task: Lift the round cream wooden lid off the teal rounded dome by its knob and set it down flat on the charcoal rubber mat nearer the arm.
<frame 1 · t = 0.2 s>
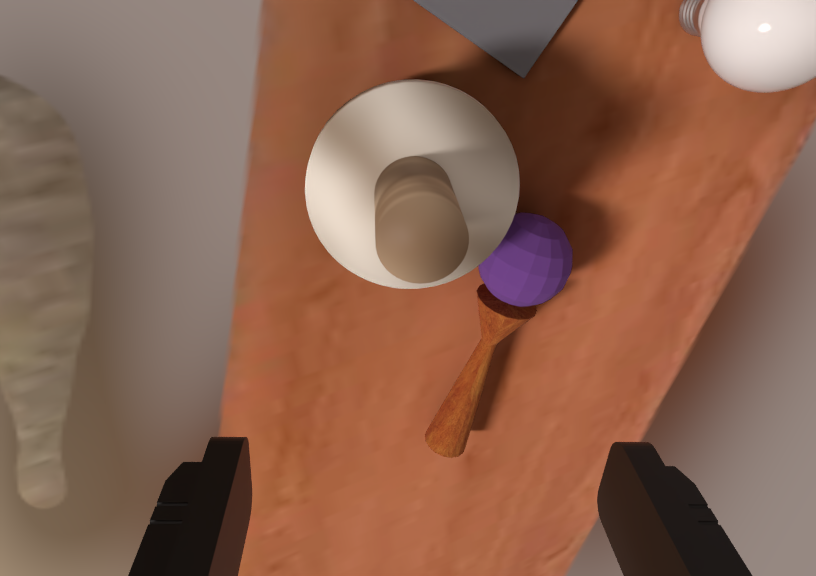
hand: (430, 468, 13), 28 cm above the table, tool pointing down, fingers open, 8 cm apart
kendama: (481, 324, 45), on the table
lightbulb: (695, 9, 35), on the table
lid: (412, 188, 32), point 7 cm above the table, touching teal rounded dome
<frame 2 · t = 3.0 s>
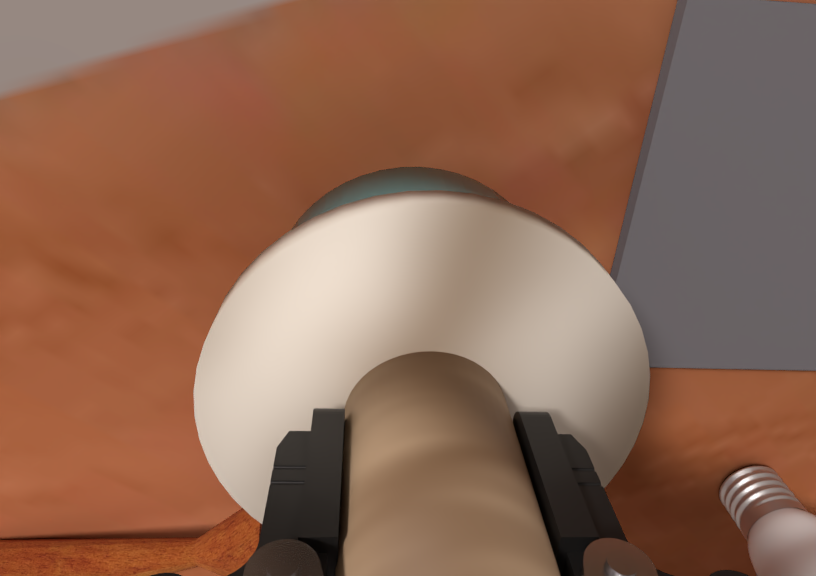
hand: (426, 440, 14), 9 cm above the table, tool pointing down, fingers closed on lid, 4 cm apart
kendama: (207, 502, 27), on the table
lightbulb: (738, 473, 28), on the table
mat: (805, 209, 22), on the table
teal rounded dome: (407, 272, 22), on the table
lid: (422, 393, 16), point 7 cm above the table, touching teal rounded dome, gripper
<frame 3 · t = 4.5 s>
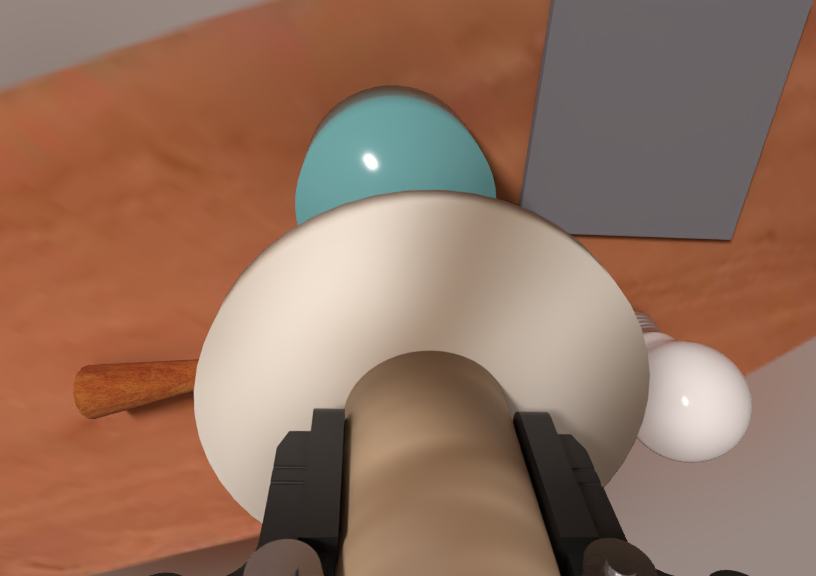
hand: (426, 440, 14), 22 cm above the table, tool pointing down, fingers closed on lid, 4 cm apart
kendama: (251, 342, 39), on the table
lightbulb: (627, 322, 40), on the table
mat: (649, 121, 33), on the table
teal rounded dome: (390, 164, 33), on the table
lid: (422, 393, 16), point 20 cm above the table, touching gripper
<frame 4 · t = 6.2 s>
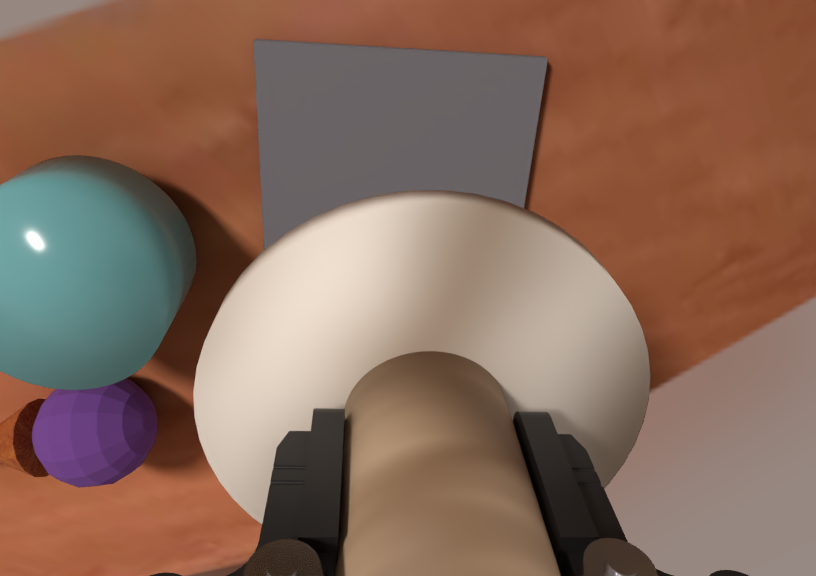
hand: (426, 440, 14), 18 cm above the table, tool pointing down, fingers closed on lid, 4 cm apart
kendama: (5, 415, 36), on the table
mat: (395, 186, 30), on the table
teal rounded dome: (114, 232, 31), on the table
lid: (422, 393, 16), point 17 cm above the table, touching gripper
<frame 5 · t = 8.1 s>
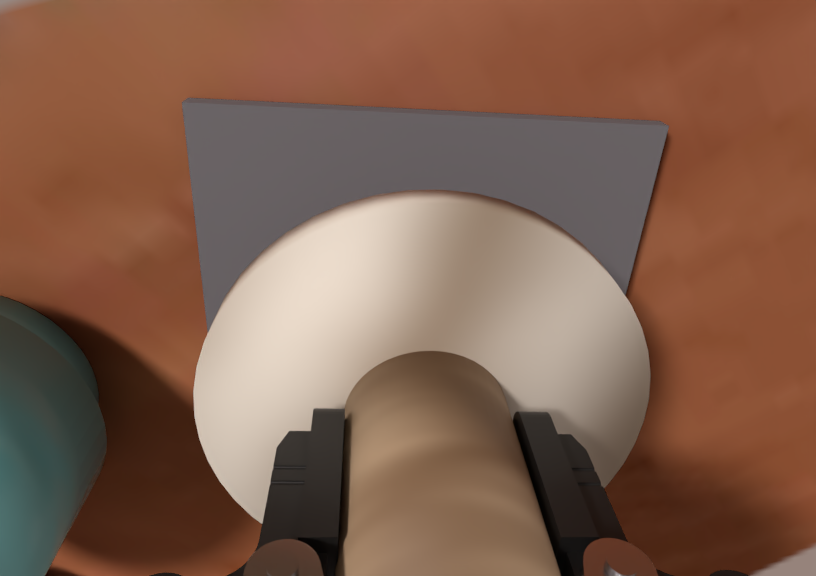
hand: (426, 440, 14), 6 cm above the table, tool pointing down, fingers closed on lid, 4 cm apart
mat: (415, 314, 20), on the table
lid: (422, 393, 16), point 4 cm above the table, touching gripper
when the fingers open (3 cm above the table, at t = 9.6 s): lid stays where it is, resting on mat.
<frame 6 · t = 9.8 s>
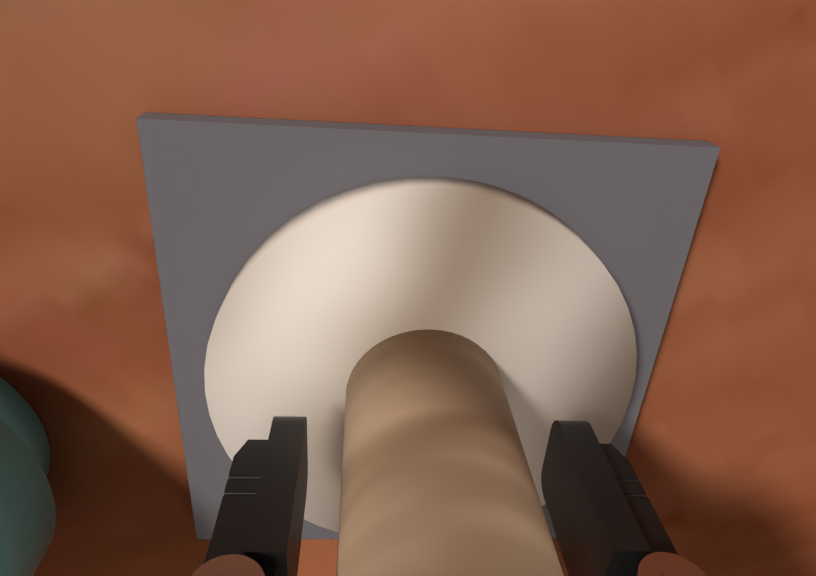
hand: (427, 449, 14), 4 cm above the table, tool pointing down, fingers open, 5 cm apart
mat: (416, 360, 17), on the table
lid: (421, 372, 16), point 1 cm above the table, touching mat
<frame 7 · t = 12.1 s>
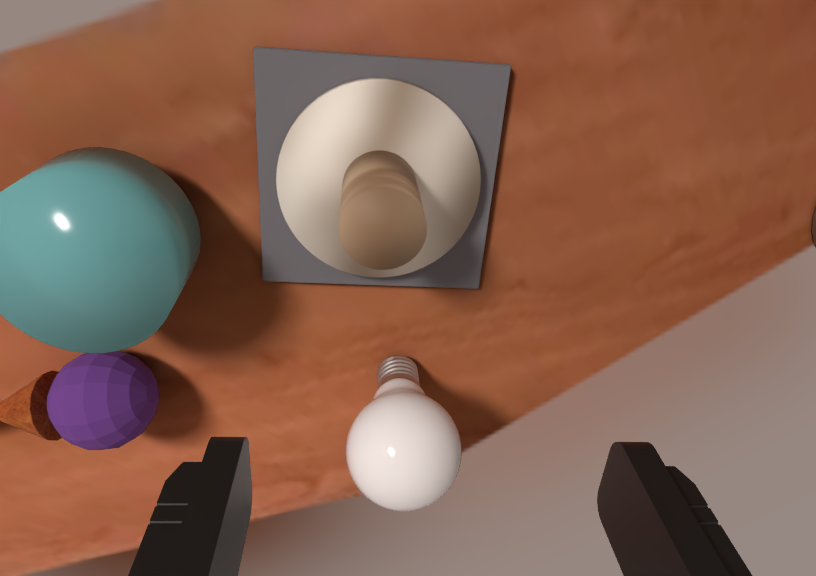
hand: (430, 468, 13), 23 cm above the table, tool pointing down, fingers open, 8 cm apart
kendama: (18, 386, 40), on the table
lightbulb: (396, 364, 41), on the table
mat: (377, 178, 34), on the table
teal rounded dome: (126, 216, 34), on the table
lid: (379, 181, 34), point 1 cm above the table, touching mat
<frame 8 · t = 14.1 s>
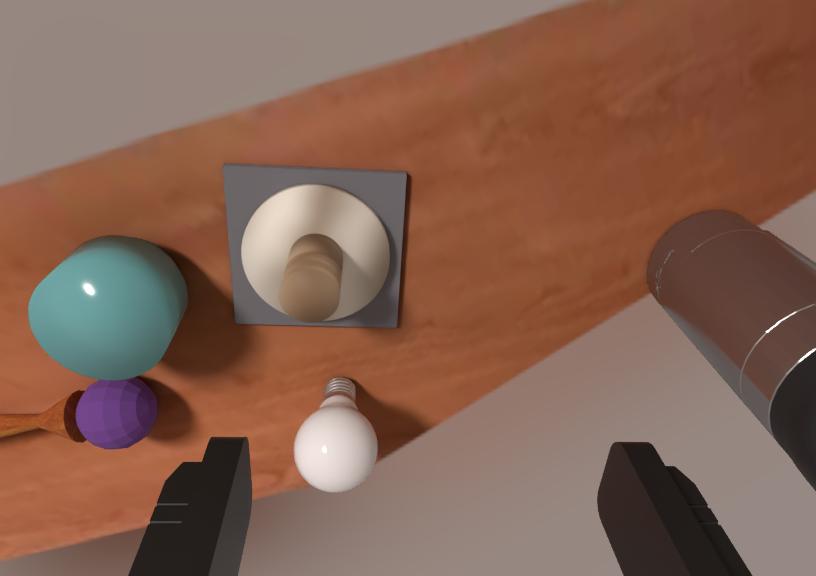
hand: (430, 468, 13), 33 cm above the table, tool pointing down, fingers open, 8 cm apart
kendama: (52, 401, 53), on the table
lightbulb: (340, 383, 53), on the table
mat: (316, 249, 47), on the table
teal rounded dome: (135, 278, 47), on the table
lid: (317, 252, 46), point 1 cm above the table, touching mat
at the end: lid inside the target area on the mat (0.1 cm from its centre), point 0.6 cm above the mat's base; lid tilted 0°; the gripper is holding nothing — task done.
